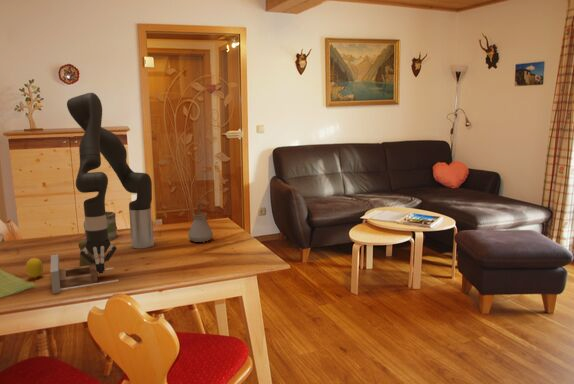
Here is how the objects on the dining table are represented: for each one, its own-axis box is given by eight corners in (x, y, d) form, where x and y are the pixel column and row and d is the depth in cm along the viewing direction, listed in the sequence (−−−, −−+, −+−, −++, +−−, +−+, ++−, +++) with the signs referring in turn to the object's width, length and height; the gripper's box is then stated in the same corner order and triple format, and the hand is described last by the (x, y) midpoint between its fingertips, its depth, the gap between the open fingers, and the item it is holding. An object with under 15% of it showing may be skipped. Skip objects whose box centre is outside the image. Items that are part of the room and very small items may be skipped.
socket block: (95, 272, 179) (94, 264, 178) (97, 282, 168) (97, 274, 168) (60, 277, 174) (59, 269, 173) (60, 288, 163) (59, 280, 163)
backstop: (113, 267, 185) (111, 247, 184) (119, 284, 168) (117, 262, 166) (53, 275, 176) (50, 255, 175) (52, 294, 159) (50, 272, 157)
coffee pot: (213, 243, 216) (212, 211, 214) (188, 244, 214) (186, 212, 211) (211, 231, 237) (210, 201, 234) (188, 232, 235) (186, 203, 232)
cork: (89, 269, 183) (87, 242, 180) (75, 268, 184) (73, 241, 182) (98, 264, 188) (96, 238, 186) (85, 263, 190) (83, 237, 188)
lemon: (31, 275, 176) (28, 255, 175) (46, 275, 177) (44, 254, 175) (24, 281, 171) (21, 260, 170) (40, 280, 171) (37, 259, 170)
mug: (108, 234, 232) (107, 210, 230) (122, 237, 226) (120, 213, 224) (79, 241, 220) (76, 216, 218) (92, 245, 214) (90, 220, 212)
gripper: (114, 222, 177) (118, 266, 180) (76, 227, 171) (80, 272, 174) (116, 227, 170) (120, 272, 173) (76, 232, 164) (81, 279, 168)
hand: (100, 272), depth 174 cm, fingers closed
